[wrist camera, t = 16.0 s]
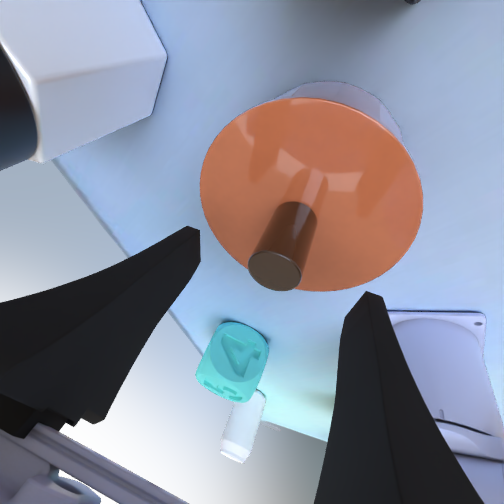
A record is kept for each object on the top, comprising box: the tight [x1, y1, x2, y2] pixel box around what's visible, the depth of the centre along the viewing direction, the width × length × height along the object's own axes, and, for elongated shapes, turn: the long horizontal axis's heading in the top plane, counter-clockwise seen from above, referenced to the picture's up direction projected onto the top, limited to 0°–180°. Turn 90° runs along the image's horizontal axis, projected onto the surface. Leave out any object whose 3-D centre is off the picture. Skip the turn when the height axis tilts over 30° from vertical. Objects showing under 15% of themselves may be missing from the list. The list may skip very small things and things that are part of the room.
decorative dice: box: [195, 322, 269, 403], centre depth 36 cm, size 8×8×8 cm
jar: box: [0, 0, 167, 171], centre depth 13 cm, size 9×8×12 cm
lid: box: [200, 95, 423, 292], centre depth 12 cm, size 11×11×5 cm
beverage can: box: [220, 390, 266, 463], centre depth 51 cm, size 6×6×12 cm
